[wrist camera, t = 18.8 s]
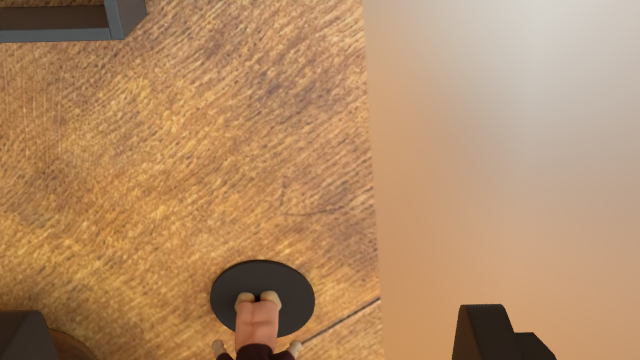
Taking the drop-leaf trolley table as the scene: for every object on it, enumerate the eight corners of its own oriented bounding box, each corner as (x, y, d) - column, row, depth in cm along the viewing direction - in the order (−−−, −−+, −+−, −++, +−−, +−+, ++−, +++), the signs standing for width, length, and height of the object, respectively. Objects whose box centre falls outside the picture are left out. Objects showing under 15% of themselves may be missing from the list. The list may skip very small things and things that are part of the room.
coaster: (313, 258, 51) (313, 261, 51) (316, 335, 57) (316, 338, 56) (204, 260, 52) (203, 263, 51) (217, 336, 57) (216, 339, 56)
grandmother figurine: (231, 322, 55) (209, 441, 44) (218, 294, 53) (192, 412, 42) (307, 309, 54) (303, 427, 43) (297, 280, 52) (290, 396, 41)
